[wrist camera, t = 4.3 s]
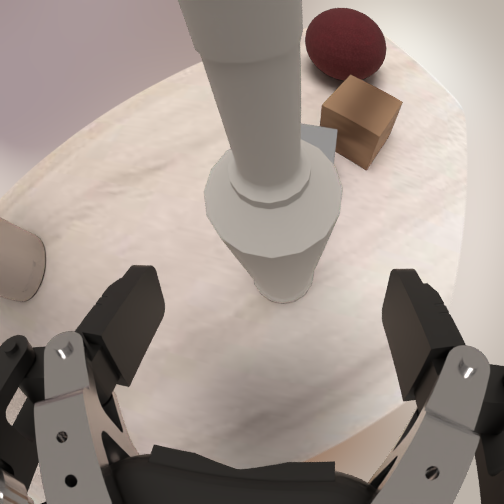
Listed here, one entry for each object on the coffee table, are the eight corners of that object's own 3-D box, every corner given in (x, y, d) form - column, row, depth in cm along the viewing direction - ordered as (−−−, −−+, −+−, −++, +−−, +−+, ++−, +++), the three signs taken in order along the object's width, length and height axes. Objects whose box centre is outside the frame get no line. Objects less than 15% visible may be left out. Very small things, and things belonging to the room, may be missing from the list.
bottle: (283, 236, 27) (243, -76, 4) (324, 275, 26) (451, -25, 2) (242, 275, 27) (46, 15, 3) (283, 317, 26) (185, 87, 2)
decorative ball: (335, 106, 31) (343, 40, 21) (290, 62, 34) (287, 3, 24) (393, 85, 31) (410, 28, 22) (347, 46, 34) (352, -8, 25)
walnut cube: (318, 142, 30) (321, 105, 24) (344, 111, 31) (350, 74, 25) (366, 170, 28) (379, 136, 23) (388, 136, 29) (402, 102, 23)
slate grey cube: (261, 206, 29) (254, 176, 23) (274, 156, 30) (269, 119, 24) (323, 217, 28) (330, 188, 22) (330, 165, 29) (337, 129, 23)
